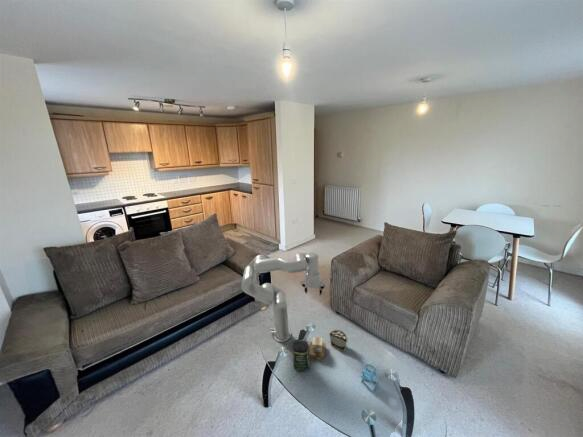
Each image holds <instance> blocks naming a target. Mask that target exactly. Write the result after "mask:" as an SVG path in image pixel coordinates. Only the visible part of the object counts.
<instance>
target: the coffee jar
mask: <svg viewBox="0 0 583 437" xmlns="http://www.w3.org/2000/svg"><path fill="white" fill-rule="evenodd" d="M309 348H310V346H309V342H308V340H305V339H295V340H293V343H292V352H293V369H294V370H295V371H300V372H307V371H308V370H309V367H310V361H309V360H310V359H309Z"/></svg>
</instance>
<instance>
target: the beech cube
mask: <svg viewBox="0 0 583 437" xmlns="http://www.w3.org/2000/svg"><path fill="white" fill-rule="evenodd" d="M312 337H313V338H312V341H311V342H312V351H313V352H320V353H322V343H323V337H320V336H319V337H318V336H317V337H316V336H312Z"/></svg>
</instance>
